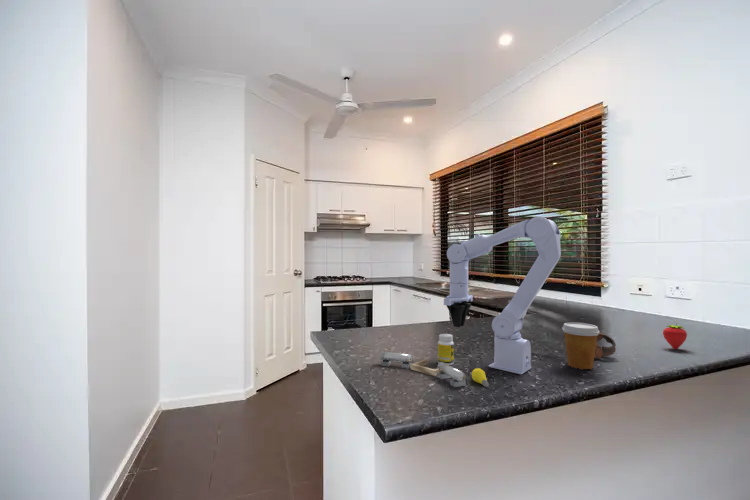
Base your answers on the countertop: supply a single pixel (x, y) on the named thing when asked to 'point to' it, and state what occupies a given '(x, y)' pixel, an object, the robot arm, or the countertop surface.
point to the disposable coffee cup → (580, 344)
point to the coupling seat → (424, 368)
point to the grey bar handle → (396, 359)
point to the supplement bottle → (446, 349)
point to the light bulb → (479, 377)
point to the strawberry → (675, 335)
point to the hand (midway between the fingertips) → (458, 326)
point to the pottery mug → (604, 350)
